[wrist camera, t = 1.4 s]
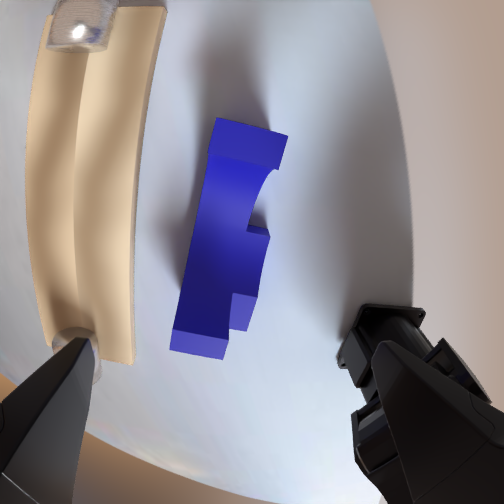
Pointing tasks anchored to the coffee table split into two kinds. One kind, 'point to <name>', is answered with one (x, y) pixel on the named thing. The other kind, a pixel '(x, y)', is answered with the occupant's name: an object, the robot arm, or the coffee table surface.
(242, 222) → the cable clip
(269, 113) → the coffee table surface
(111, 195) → the light wooden board
